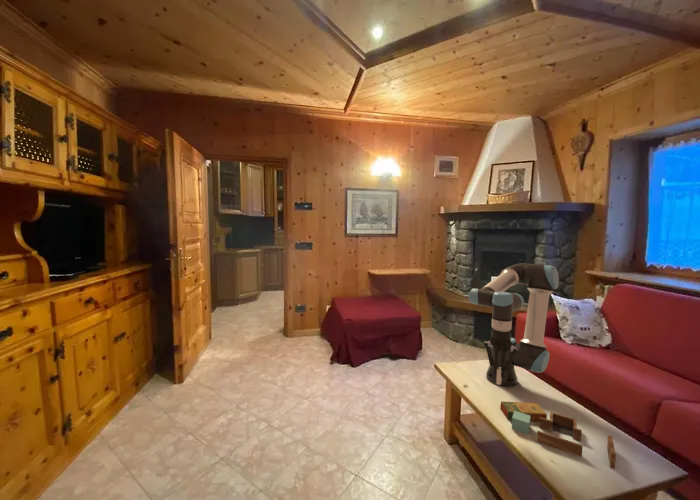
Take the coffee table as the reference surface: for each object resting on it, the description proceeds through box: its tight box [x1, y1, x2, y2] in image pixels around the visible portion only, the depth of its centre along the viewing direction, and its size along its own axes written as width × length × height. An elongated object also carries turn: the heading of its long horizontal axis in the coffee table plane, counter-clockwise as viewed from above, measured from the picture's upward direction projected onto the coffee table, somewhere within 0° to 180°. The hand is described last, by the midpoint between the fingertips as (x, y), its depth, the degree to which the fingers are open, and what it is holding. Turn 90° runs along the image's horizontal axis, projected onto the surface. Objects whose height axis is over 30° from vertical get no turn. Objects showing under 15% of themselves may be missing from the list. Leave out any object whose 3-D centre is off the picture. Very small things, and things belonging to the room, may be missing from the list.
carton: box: [499, 400, 548, 423], centre depth 136 cm, size 8×16×4 cm, turn 84°
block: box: [511, 411, 531, 435], centre depth 128 cm, size 6×6×5 cm
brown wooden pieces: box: [536, 411, 617, 470], centre depth 120 cm, size 19×23×5 cm
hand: (498, 383), depth 132 cm, fingers closed
